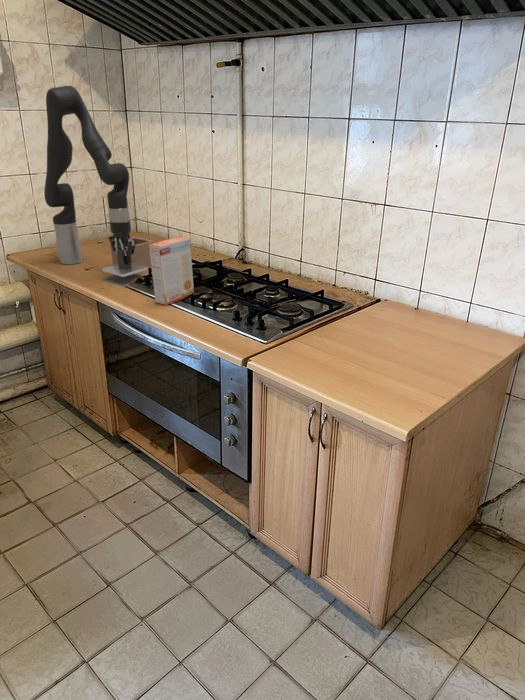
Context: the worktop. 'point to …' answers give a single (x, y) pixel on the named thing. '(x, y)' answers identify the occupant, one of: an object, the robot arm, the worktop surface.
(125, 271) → the lid
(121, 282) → the mat
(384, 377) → the worktop surface
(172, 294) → the cracker box
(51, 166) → the robot arm
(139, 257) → the open storage bin
